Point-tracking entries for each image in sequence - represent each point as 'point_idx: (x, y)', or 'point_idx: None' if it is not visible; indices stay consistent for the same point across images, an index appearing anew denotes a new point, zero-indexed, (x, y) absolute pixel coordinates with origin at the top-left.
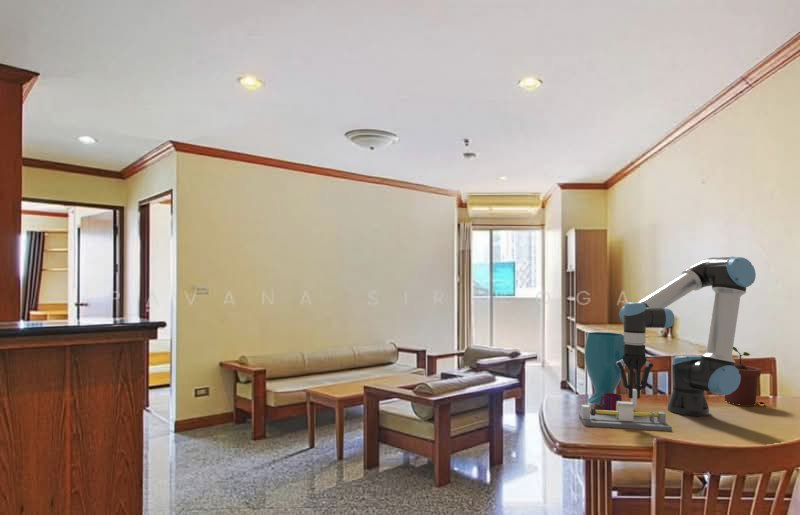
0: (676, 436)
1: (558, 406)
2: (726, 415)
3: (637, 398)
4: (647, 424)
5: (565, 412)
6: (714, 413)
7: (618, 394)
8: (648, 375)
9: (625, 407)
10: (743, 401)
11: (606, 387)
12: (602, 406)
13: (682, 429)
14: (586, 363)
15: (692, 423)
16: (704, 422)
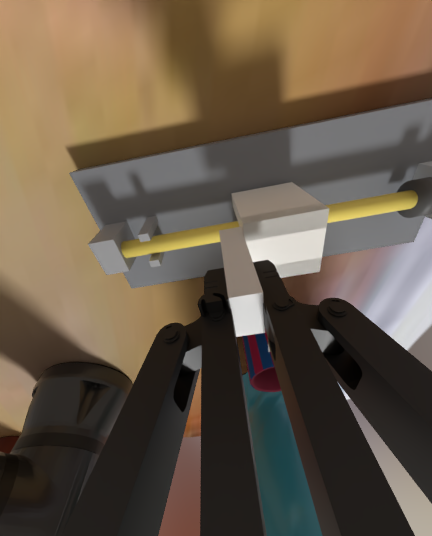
0: (31, 57)
1: (399, 329)
2: (8, 387)
3: (219, 268)
4: (173, 174)
5: (414, 281)
6: None
7: (256, 388)
8: (69, 520)
9: (284, 207)
10: (5, 446)
11: (276, 422)
12: None
13: (51, 218)
14: None
15: (48, 303)
16: (24, 324)
